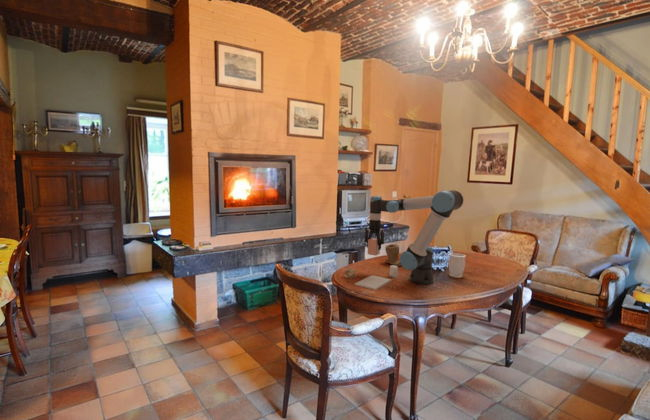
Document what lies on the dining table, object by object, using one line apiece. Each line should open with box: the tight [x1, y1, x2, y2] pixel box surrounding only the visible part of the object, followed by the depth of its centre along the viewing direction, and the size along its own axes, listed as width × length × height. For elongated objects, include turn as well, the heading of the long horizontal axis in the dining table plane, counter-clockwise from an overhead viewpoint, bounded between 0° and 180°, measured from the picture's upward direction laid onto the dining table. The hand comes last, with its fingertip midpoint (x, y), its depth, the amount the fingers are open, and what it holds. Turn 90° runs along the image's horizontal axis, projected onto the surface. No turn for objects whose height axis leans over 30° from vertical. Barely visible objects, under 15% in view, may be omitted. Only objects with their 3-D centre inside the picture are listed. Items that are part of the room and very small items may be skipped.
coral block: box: [367, 237, 378, 257], centre depth 243 cm, size 6×6×10 cm
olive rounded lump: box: [343, 267, 356, 279], centre depth 238 cm, size 5×5×5 cm
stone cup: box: [385, 244, 403, 267], centre depth 271 cm, size 15×12×15 cm
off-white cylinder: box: [389, 264, 399, 279], centre depth 242 cm, size 5×5×7 cm
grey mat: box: [354, 275, 392, 291], centre depth 228 cm, size 14×22×1 cm, turn 145°
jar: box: [448, 252, 467, 279], centre depth 247 cm, size 11×10×15 cm
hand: (373, 253), depth 244 cm, fingers closed on coral block, 6 cm apart
